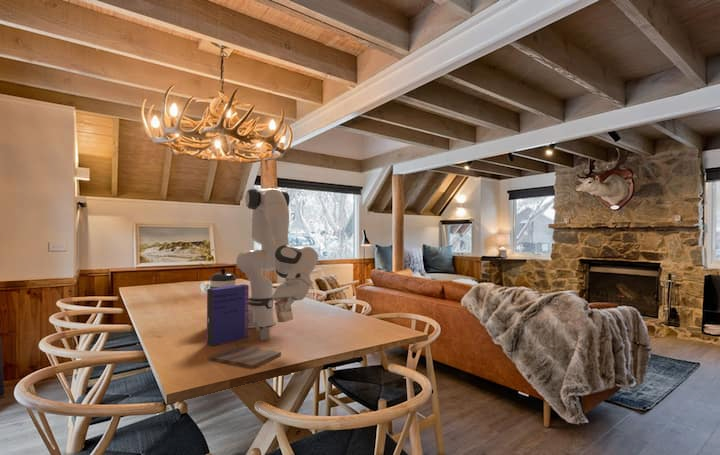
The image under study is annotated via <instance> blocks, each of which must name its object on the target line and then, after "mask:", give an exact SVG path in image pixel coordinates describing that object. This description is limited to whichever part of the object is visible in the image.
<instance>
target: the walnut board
mask: <svg viewBox="0 0 720 455" xmlns="http://www.w3.org/2000/svg"><path fill="white" fill-rule="evenodd" d="M281 355H282V353H281V351H277V350H271V349H265V348H258V347H253V346H248V345H241V344H236V345H233V346H231V347H228V348H225V349H223V350H220V351H218V352H215V353H212V354H210V355H208V356H206V357H207V361H208V360H209V361H214V362H218V363H224V364H227V365H233V366H239V367H244V368H249V369H255V368H257V367H259V366H261V365H264V364H266V363H267V362H270V361H272V360H274V359H277V358H278V357H279V356H281Z"/></svg>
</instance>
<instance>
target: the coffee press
mask: <svg viewBox="0 0 720 455" xmlns="http://www.w3.org/2000/svg"><path fill="white" fill-rule="evenodd" d="M226 270H227V269H226V268H225V267H223V268H221V269H220V272H217V273H213V274H212V275H211V276H210V278H209V281H210V286H209V289H210V288H219V287H227V286H235V285H236V283H237V282H236V280H237V277H236V275H235V273H232V272H226Z"/></svg>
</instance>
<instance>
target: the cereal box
mask: <svg viewBox="0 0 720 455" xmlns="http://www.w3.org/2000/svg"><path fill="white" fill-rule="evenodd" d="M249 290H250V289H249V285H248V284H235V286H227V287H219V288H210V287H209V288H207V289H206V345H208V346H210V347H216V346H219V345H224V344H228V343H231V342H235V341H240V340H244V339H247V338H249V328H248V302H249V298H250V297H249Z"/></svg>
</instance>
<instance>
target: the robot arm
mask: <svg viewBox="0 0 720 455" xmlns="http://www.w3.org/2000/svg"><path fill="white" fill-rule="evenodd" d="M290 198H291V197H290V195H289V193H288V191H287V190H283V189H277V188H250V189H248V190H247V191H246V193H245V197H244V201H245V205H246V207H247V208H248V209H249V210H252V214H251V238H252V240H253V241H254V242H256V243H258V244H260V245H261V248H262V249H248V250H243V251H241V252H239V253H238V255H236V256H237V257H236V260H235V261H236V266H237V268H238V269H239V270H241V272H243V274H245V275H246V277H247V278H248V280H249V285H250V297H249V301H248V329H254V328H255V326H254V324H253V323H254V322H257V324H258V326H259V328H263V327H271V326H274V325H275V324H276V321H275V314H274V308H273V307H274V302H279V301H283V300H288V301H287V302H286V304H284V306H283V309H285V310H288V308H289V306H290V305H291V306H292V304H294V302H295V301H296V302H297V301H302V300H304V299H305V298H306V296H307V294H308V293H309V291H310V288H311V287H312V286H313V284H314V282H313V281H312V280H311V279H310V276H311V274H312V273H313V272H314V270H315V268H316V265H317V263H318V259H319V255H318V252H317V251H316V250H315V249H314V248H313V247H311V246H309V245H308V246H307V245H306V246H301V247H298V246H292V245H290V241H289V226H290V225H289V224H290V212H289V205H290ZM262 271H263V272H264V271H265V272H266V271H275V273H276V274H277V276H278V277H280V278H284V280H285V282H283V283H281V284H279V285H278V286H277V288H276V289H275V291H274V292H273V282H272V280H271V279H270V278H268V277H266V276H263V274H262ZM255 329H256V328H255Z"/></svg>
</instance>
